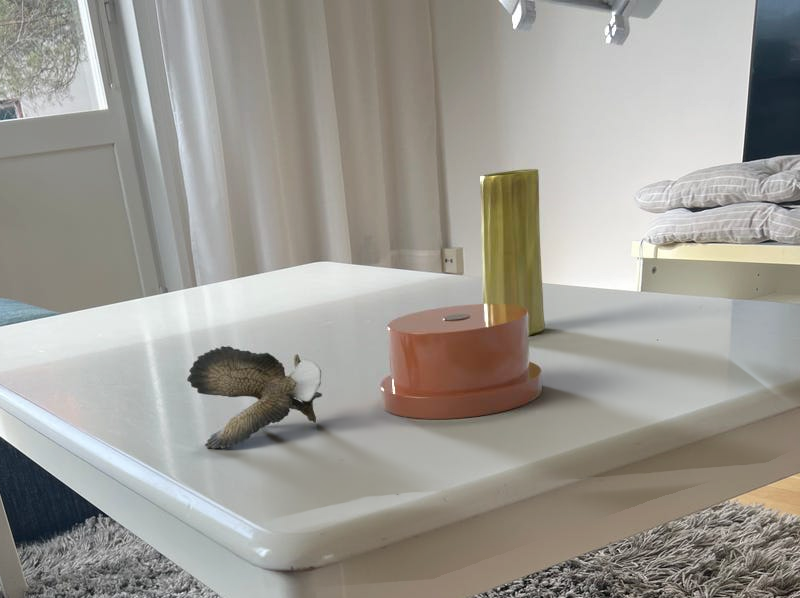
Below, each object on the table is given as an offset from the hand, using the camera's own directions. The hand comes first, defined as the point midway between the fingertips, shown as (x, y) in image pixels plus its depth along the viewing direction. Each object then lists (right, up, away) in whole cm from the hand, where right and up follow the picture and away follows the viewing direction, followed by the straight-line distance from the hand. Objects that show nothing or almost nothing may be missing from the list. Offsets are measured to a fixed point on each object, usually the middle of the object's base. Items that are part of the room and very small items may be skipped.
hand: (572, 31), depth 90 cm
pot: (-12, -37, -14) cm, 42 cm away
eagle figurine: (-28, -41, -16) cm, 52 cm away
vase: (-4, -26, +6) cm, 27 cm away
